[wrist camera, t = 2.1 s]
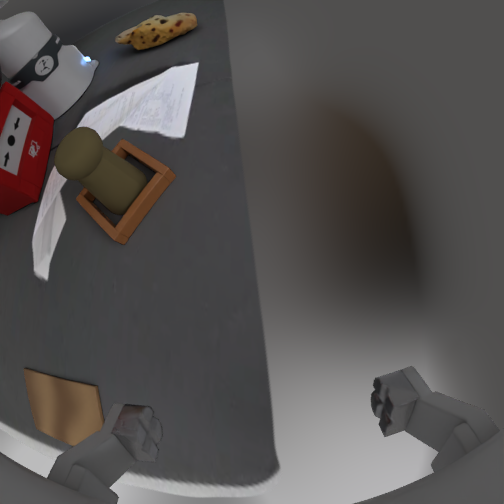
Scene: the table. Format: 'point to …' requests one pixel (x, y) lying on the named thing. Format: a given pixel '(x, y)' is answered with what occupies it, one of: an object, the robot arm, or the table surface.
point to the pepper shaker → (99, 170)
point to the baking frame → (142, 201)
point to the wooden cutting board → (63, 407)
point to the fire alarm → (22, 148)
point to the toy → (157, 30)
